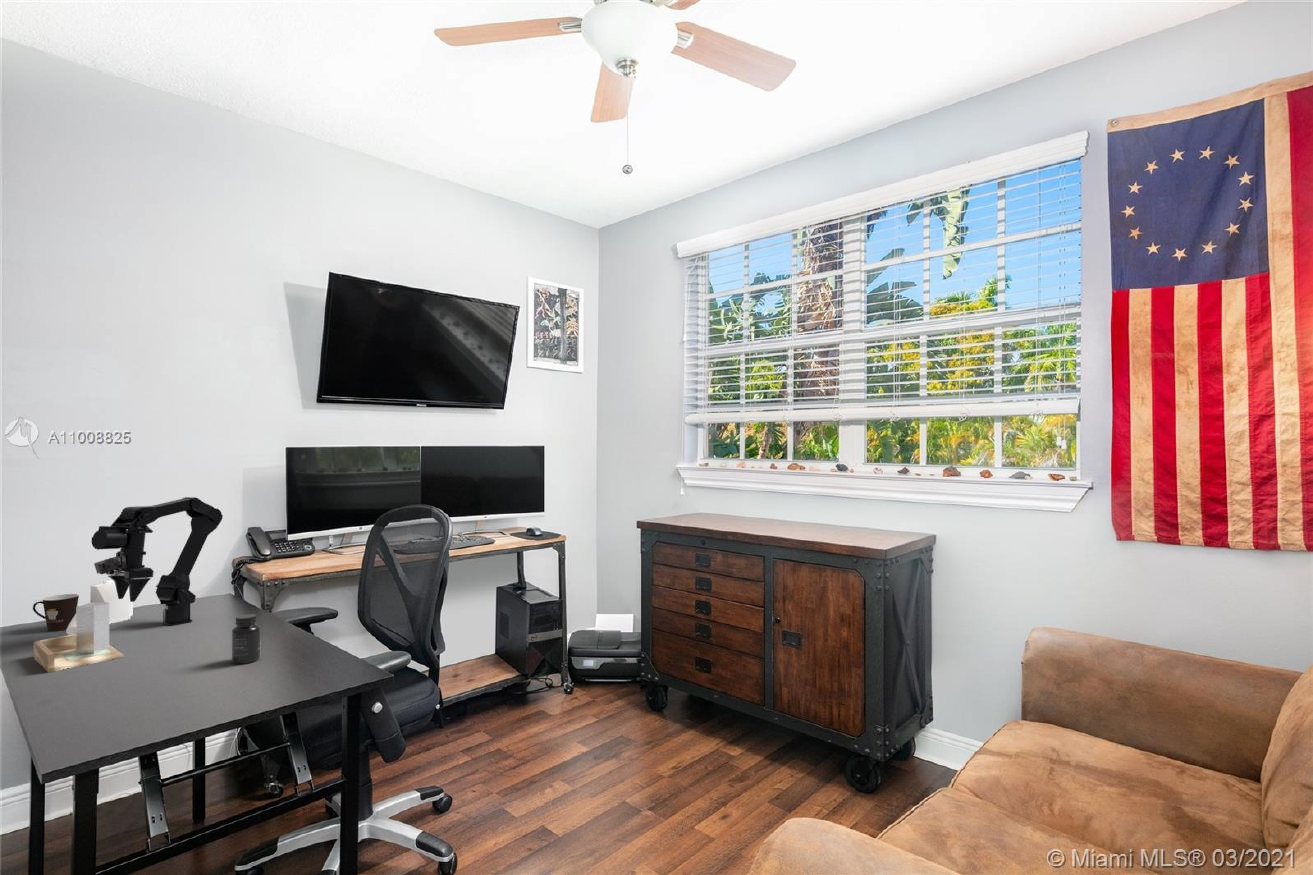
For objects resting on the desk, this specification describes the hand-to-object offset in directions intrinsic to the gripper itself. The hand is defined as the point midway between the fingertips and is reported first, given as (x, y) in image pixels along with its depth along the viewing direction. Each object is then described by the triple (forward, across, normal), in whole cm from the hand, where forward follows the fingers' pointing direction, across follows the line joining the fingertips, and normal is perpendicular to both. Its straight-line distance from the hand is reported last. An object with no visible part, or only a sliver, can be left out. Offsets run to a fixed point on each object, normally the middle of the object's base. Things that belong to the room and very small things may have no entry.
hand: (126, 600), depth 203 cm
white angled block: (+10, -29, +7) cm, 32 cm away
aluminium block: (+12, +10, -10) cm, 19 cm away
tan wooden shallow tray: (+13, +11, -13) cm, 22 cm away
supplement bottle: (+12, +52, +11) cm, 55 cm away
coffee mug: (+11, -30, -7) cm, 33 cm away
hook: (+12, -8, -9) cm, 17 cm away
